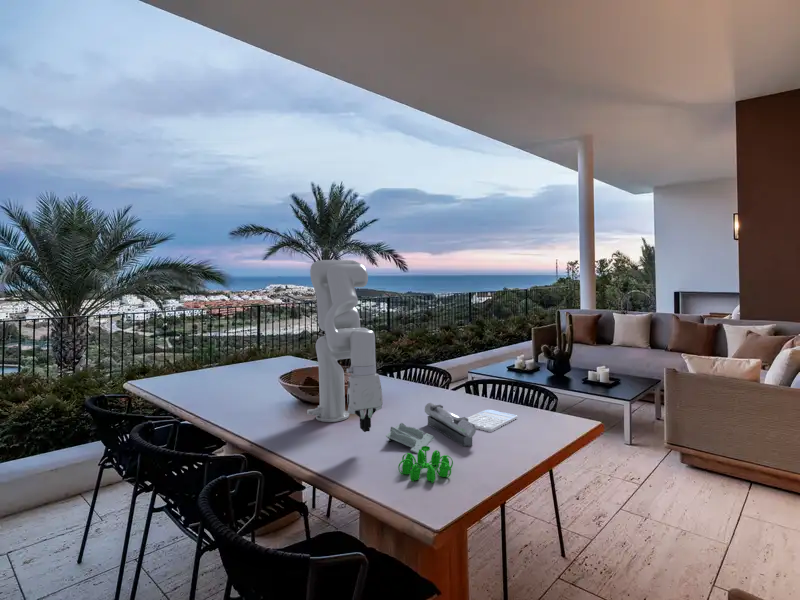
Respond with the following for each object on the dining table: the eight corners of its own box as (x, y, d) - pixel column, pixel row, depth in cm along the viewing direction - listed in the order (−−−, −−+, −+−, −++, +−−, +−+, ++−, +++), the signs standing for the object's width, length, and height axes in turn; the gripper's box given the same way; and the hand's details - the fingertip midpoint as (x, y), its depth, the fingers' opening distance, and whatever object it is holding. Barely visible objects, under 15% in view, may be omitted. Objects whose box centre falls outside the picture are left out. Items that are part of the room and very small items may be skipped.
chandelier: (404, 489, 107) (403, 461, 106) (393, 464, 121) (393, 440, 121) (461, 482, 109) (461, 456, 109) (444, 459, 124) (444, 435, 124)
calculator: (458, 425, 154) (458, 420, 154) (487, 412, 168) (487, 407, 168) (490, 434, 145) (490, 428, 145) (519, 419, 159) (518, 414, 159)
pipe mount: (464, 448, 131) (463, 424, 131) (424, 423, 155) (424, 403, 155) (476, 445, 133) (475, 422, 133) (435, 421, 157) (435, 401, 156)
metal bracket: (381, 431, 132) (399, 416, 146) (377, 448, 133) (395, 432, 147) (424, 450, 127) (439, 433, 141) (419, 467, 128) (434, 449, 142)
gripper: (343, 375, 124) (345, 438, 125) (391, 369, 130) (392, 430, 131) (336, 371, 131) (338, 431, 131) (381, 366, 137) (383, 423, 137)
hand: (365, 430), depth 131 cm, fingers closed
